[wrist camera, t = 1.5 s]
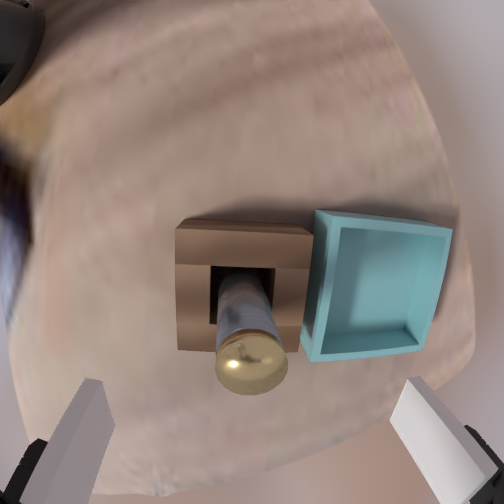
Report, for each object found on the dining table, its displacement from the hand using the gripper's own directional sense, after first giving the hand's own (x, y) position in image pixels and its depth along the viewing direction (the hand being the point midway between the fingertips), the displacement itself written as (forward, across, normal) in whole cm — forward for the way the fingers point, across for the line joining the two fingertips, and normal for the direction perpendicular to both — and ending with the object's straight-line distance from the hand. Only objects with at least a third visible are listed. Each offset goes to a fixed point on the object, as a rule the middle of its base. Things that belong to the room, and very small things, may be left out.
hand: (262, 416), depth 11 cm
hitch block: (+17, 0, 0) cm, 17 cm away
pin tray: (+17, +13, 0) cm, 21 cm away
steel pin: (+17, 0, 0) cm, 17 cm away
